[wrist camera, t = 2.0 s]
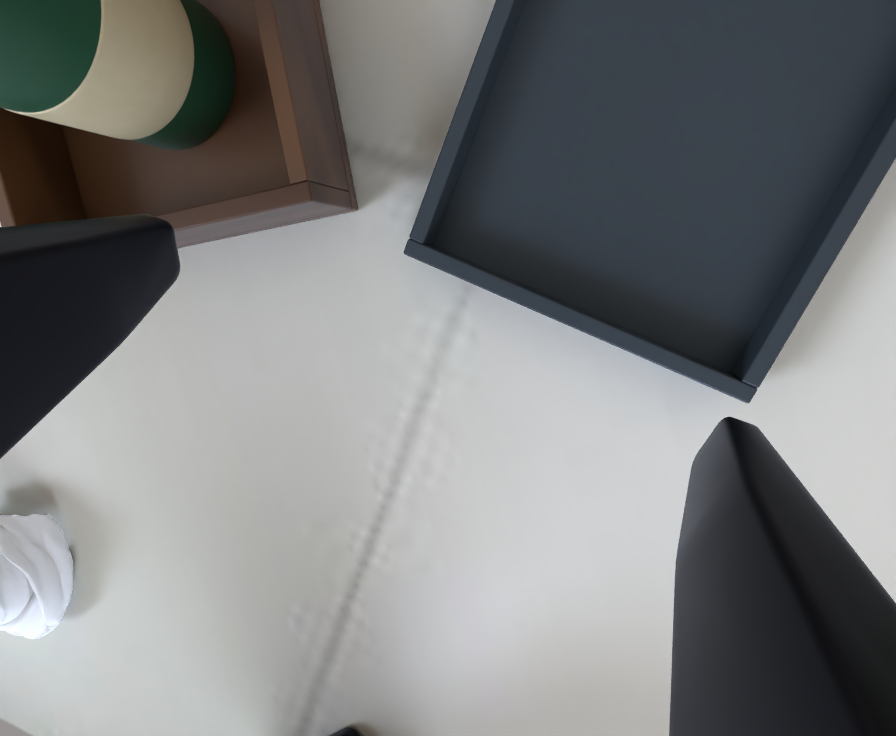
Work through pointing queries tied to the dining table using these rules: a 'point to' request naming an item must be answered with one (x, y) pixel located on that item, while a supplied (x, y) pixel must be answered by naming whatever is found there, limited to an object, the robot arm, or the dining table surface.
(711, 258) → the tray
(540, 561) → the dining table surface
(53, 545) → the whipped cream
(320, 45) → the crate
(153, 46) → the bottle
